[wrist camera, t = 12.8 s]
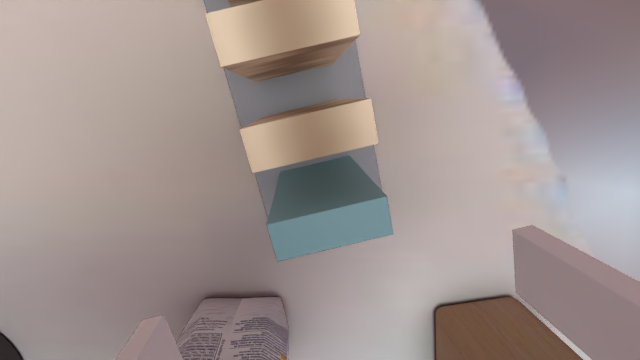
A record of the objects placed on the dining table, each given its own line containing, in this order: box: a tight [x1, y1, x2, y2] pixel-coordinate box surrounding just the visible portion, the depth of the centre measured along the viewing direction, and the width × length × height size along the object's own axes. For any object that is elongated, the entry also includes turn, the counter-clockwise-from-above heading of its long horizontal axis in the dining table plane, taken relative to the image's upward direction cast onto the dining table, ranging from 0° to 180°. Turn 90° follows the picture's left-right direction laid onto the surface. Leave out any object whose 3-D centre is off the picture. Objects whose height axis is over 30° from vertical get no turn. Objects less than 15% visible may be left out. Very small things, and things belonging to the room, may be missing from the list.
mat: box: [204, 0, 382, 217], centre depth 28 cm, size 12×32×1 cm, turn 13°
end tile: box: [267, 155, 393, 262], centre depth 24 cm, size 7×2×13 cm, turn 103°
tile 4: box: [239, 99, 379, 173], centre depth 22 cm, size 7×2×13 cm, turn 103°
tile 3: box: [205, 0, 360, 82], centre depth 21 cm, size 7×2×13 cm, turn 103°
